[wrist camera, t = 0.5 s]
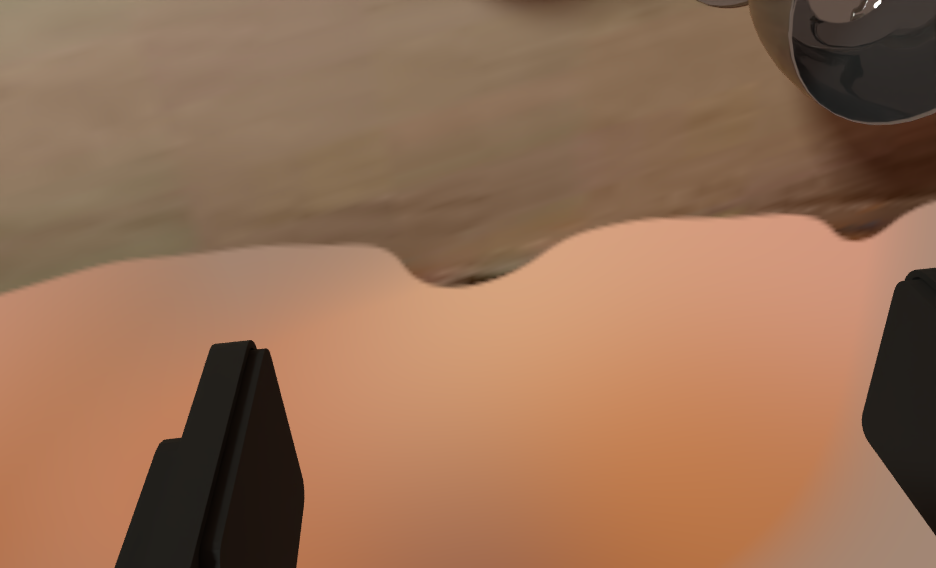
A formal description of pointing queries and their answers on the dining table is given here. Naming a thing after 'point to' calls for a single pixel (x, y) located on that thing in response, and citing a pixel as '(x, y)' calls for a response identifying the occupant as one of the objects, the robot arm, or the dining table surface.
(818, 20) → the wine glass
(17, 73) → the dining table surface
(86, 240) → the dining table surface
